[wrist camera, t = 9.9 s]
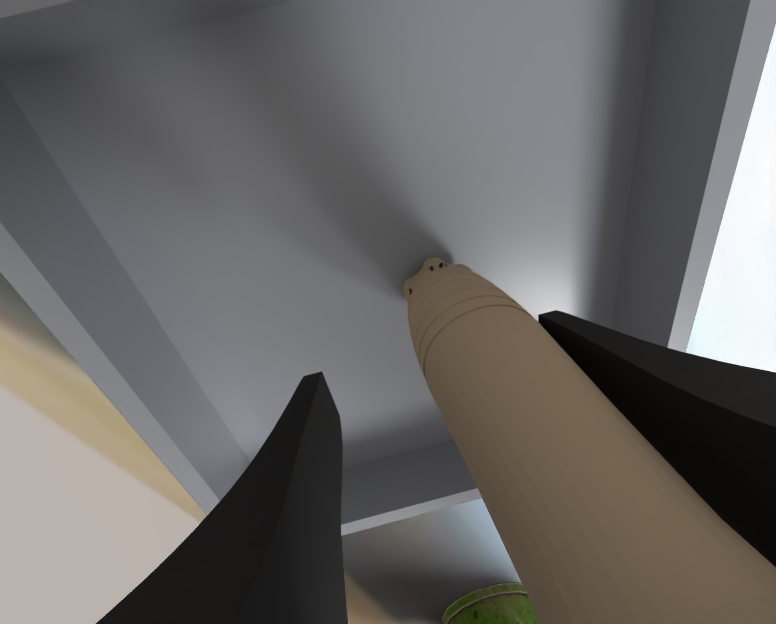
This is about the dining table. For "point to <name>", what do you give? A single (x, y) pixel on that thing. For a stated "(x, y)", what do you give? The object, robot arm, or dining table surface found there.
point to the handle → (573, 472)
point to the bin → (354, 199)
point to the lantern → (493, 606)
